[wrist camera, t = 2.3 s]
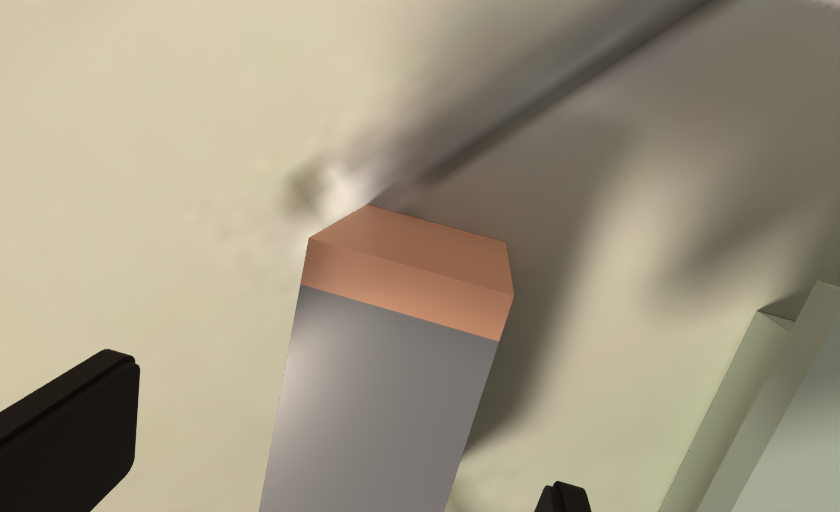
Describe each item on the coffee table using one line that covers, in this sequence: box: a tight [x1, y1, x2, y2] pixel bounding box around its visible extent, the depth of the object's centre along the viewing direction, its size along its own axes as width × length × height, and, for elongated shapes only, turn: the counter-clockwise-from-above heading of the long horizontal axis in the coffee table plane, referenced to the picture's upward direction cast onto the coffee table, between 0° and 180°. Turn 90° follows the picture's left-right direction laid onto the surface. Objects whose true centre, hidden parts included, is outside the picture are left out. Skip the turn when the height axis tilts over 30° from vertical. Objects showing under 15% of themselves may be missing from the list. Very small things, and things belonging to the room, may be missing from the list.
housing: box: [259, 205, 514, 512], centre depth 15 cm, size 10×5×6 cm, turn 166°
